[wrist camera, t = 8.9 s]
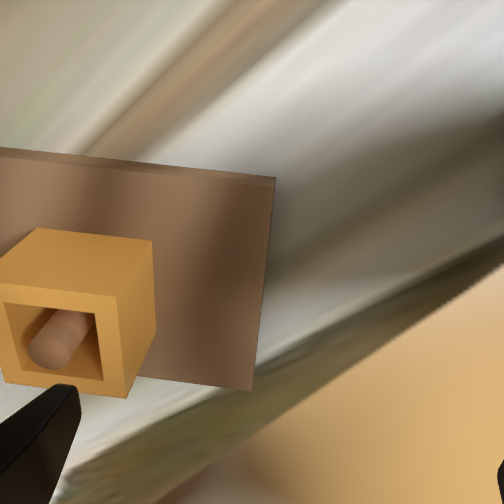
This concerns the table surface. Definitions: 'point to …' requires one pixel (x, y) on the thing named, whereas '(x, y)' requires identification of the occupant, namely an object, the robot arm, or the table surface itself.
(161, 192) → the peg board
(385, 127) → the table surface
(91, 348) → the orange square block
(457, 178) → the table surface
